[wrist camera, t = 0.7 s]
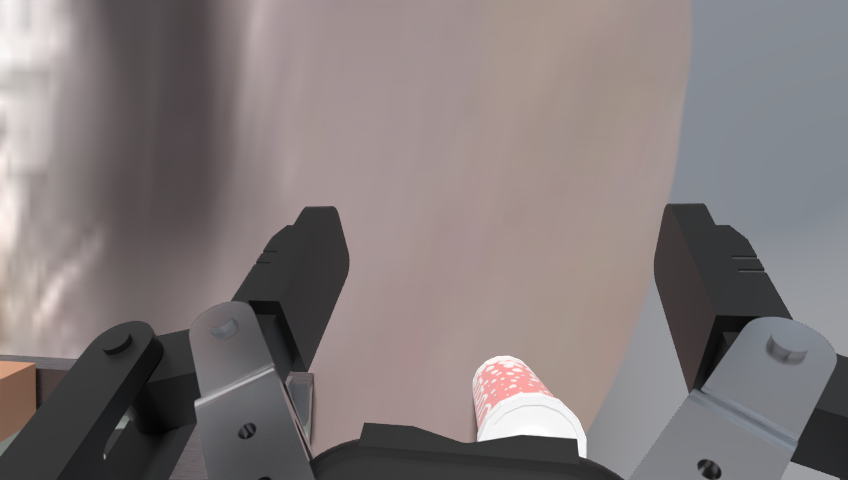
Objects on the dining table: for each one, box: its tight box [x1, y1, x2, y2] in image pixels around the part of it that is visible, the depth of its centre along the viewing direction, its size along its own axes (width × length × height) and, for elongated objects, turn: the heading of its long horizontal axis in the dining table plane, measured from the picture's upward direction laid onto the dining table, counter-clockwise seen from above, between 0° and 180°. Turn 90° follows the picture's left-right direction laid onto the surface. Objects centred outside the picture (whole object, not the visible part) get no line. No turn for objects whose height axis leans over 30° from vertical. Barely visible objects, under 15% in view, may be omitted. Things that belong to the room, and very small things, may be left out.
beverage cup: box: [473, 356, 586, 458], centre depth 30 cm, size 6×6×14 cm
